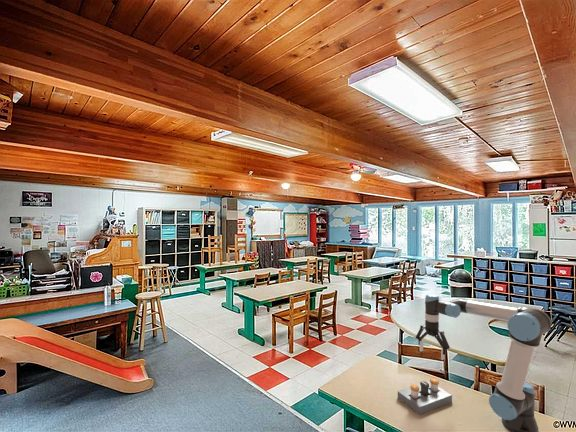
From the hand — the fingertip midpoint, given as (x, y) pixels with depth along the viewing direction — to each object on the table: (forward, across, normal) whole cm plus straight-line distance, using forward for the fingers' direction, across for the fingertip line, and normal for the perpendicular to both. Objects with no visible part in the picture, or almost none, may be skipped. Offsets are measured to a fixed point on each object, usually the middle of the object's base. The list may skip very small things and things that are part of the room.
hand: (431, 355), depth 185 cm
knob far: (+20, -3, +2) cm, 20 cm away
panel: (+23, -1, +10) cm, 25 cm away
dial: (+20, -1, +10) cm, 23 cm away
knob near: (+20, 0, +18) cm, 27 cm away
